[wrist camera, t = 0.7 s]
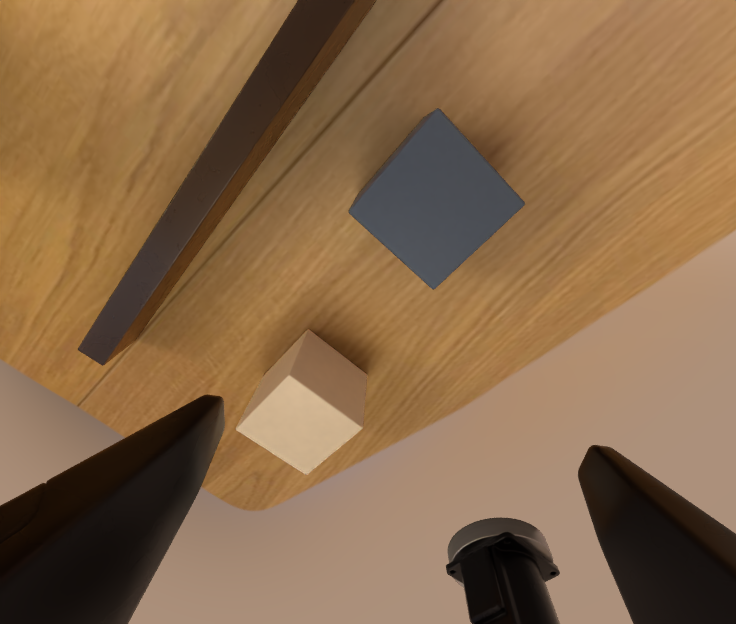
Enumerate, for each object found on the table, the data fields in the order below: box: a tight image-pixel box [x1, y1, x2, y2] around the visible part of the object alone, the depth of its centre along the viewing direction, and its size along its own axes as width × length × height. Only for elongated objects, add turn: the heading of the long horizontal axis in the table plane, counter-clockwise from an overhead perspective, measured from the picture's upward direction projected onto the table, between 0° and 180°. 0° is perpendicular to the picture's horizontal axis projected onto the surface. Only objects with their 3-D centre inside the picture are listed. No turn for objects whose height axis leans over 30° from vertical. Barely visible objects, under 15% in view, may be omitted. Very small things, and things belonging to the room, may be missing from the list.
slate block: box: [349, 108, 525, 289], centre depth 17 cm, size 5×5×5 cm
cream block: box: [236, 329, 367, 475], centre depth 22 cm, size 5×5×5 cm
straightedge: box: [78, 0, 376, 365], centre depth 18 cm, size 2×26×3 cm, turn 138°
